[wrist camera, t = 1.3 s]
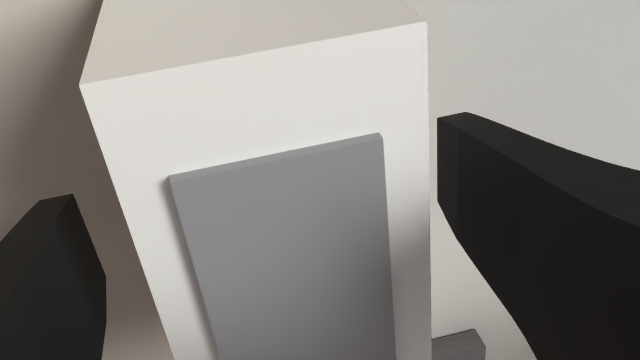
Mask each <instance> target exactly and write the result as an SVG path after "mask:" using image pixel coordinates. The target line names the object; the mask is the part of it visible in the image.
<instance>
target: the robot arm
mask: <svg viewBox="0 0 640 360" xmlns="http://www.w3.org/2000/svg"><path fill="white" fill-rule="evenodd" d="M437 199H438V203H439V205H440V207H441V209H442V211H443V213H444V215H445V217H446V219H447V221H448V223H449V225H450V227H451V229H452V231H453V233H454V235H455V237H456V239H457V240H458V242H459V243H460V244H461V246H462V247H463V249H464V250H465V252H466V253H467V255H468V256H469V257H470V259H471V260H472V262H473V263H474V265H475V266H476V267H477V269H478V270H479V272H480V273H481V274H482V276H483V277H484V279H485V280H486V281H487V283H488V284H489V286H490V287H491V288H492V290H493V291H494V293H495V294H496V295H497V297H498V298H499V300H500V301H501V302H502V304H503V305H504V307H505V308H506V309H507V311H508V312H509V314H510V315H511V316H512V318H513V319H514V321H515V322H516V324H517V326H518V327H519V329H520V330H521V332H522V333H523V335H524V337H525V338H526V340H527V342H528V344H529V346H530V347H531V349H532V351H533V353H534V355H535V356H536V358H537V360H640V171H639V170H635V169H630V168H626V167H622V166H618V165H615V164H611V163H608V162H604V161H601V160H598V159H595V158H592V157H589V156H586V155H582V154H579V153H576V152H573V151H570V150H567V149H565V148H562V147H559V146H556V145H553V144H551V143H548V142H545V141H543V140H540V139H538V138H535V137H532V136H530V135H527V134H525V133H522V132H520V131H517V130H515V129H512V128H510V127H507V126H505V125H502V124H500V123H497V122H494V121H492V120H489V119H486V118H484V117H481V116H478V115H475V114H471V113H468V112H463V113H458V114H453V115H449V116H444V117H439V118H437ZM105 328H106V276H105V273H104V271H103V268H102V266H101V263H100V261H99V258H98V256H97V253H96V250H95V248H94V245H93V243H92V240H91V238H90V235H89V233H88V230H87V228H86V225H85V223H84V220H83V218H82V215H81V213H80V210H79V208H78V205H77V203H76V200H75V198H74V195H73V194H69V195H64V196H59V197H55V198H50V199H45V200H40V201H39V202H37V203H36V204H35V205H34V206H33V207H32V208H31V209H30V210H29V211H28V212H27V213H26V214H25V215H24V217H23V218H22V219H21V220H20V221H19V222H18V223H17V224H16V225H15V226H14V227H13V229H12V230H11V231H10V232H9V233H8V234H7V235H6V236H5V237H4V238H3V240H2V241H1V242H0V360H101V359H102V352H103V344H104V336H105Z"/></svg>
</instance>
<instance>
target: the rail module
mask: <svg viewBox="0 0 640 360" xmlns="http://www.w3.org/2000/svg"><path fill="white" fill-rule="evenodd" d="M79 87H80V90H81V93H82V96H83V99H84V102H85V105H86V107H87V110H88V113H89V116H90V119H91V122H92V125H93V127H94V130H95V133H96V136H97V139H98V142H99V145H100V147H101V150H102V153H103V156H104V159H105V162H106V165H107V167H108V170H109V173H110V176H111V179H112V182H113V185H114V187H115V190H116V193H117V196H118V199H119V202H120V205H121V207H122V210H123V213H124V216H125V219H126V222H127V225H128V227H129V230H130V233H131V236H132V239H133V242H134V245H135V248H136V250H137V253H138V256H139V259H140V262H141V265H142V268H143V270H144V273H145V276H146V279H147V282H148V285H149V288H150V290H151V293H152V296H153V299H154V302H155V305H156V308H157V310H158V313H159V316H160V319H161V322H162V325H163V328H164V330H165V333H166V336H167V339H168V342H169V345H170V348H171V350H172V353H173V356H174V359H175V360H432V346H431V272H430V197H429V123H428V49H427V21H426V20H425V19H424V18H423V17H421V16H420V15H419V14H418V13H417V12H415V11H414V10H413V9H412V8H410V7H409V6H408V5H407V4H406V3H404V2H403V1H402V0H103V3H102V7H101V10H100V14H99V17H98V20H97V24H96V27H95V31H94V34H93V38H92V41H91V45H90V48H89V51H88V55H87V58H86V62H85V65H84V69H83V72H82V76H81V79H80V82H79Z"/></svg>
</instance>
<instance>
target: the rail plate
mask: <svg viewBox="0 0 640 360" xmlns="http://www.w3.org/2000/svg"><path fill="white" fill-rule="evenodd" d="M431 346H432V360H485V349H486V346H485V345H484V343H483V341H482V340H481V338H480V336H479V335H478V333H477V331H476V330H475V329H473V330H469V331H465V332H461V333H457V334H453V335H449V336H445V337H441V338H437V339H433V340H431Z"/></svg>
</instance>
